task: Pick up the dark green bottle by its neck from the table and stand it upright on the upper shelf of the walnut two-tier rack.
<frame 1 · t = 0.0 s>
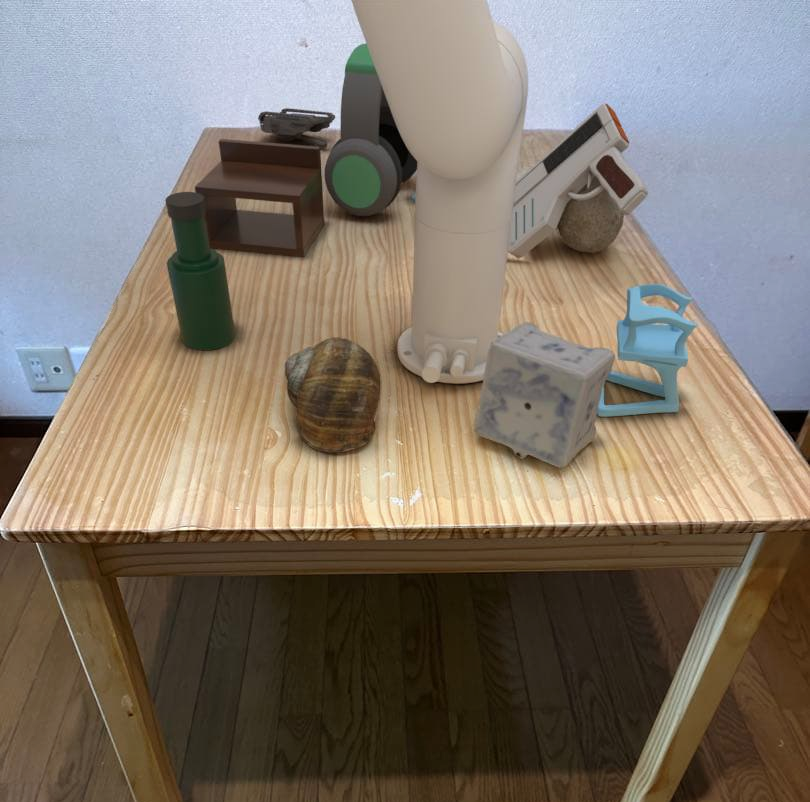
rack: (266, 235, 110), on the table
chair: (635, 401, 82), on the table
incense holder: (535, 440, 77), on the table
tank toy: (295, 110, 134), point 5 cm above the table
figurine: (456, 135, 130), point 4 cm above the table
seashell: (334, 422, 78), on the table
headphones: (376, 199, 120), on the table
stone: (562, 180, 114), point 5 cm above the table
bottle: (208, 336, 90), on the table
decorative stone: (582, 251, 108), on the table, touching futuristic handgun
decorative object: (445, 175, 127), on the table
futuristic handgun: (582, 249, 97), point 5 cm above the table, touching decorative stone
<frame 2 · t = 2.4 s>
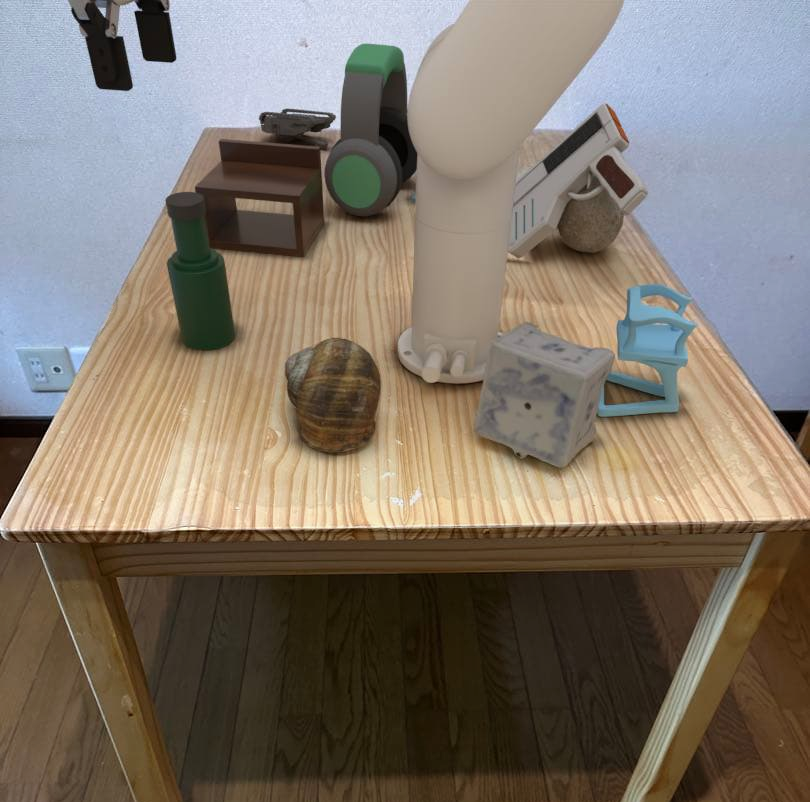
hand: (138, 74, 72), 26 cm above the table, tool pointing down, fingers open, 9 cm apart
nothing on the table moved.
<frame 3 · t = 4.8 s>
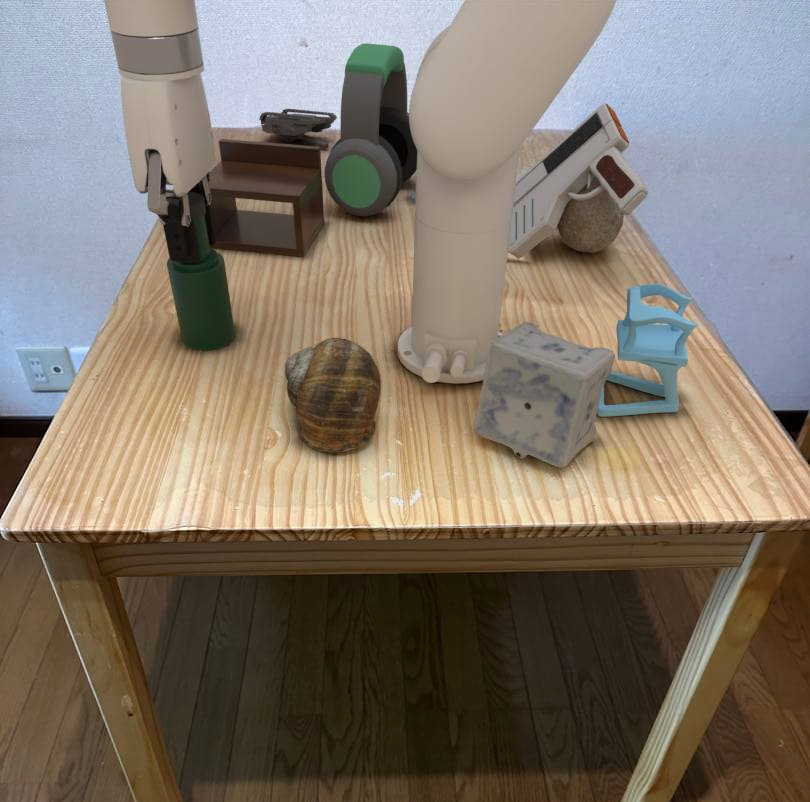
hand: (193, 250, 82), 10 cm above the table, tool pointing down, fingers closed on bottle, 3 cm apart
bottle: (208, 336, 90), on the table, touching gripper
everything else where it was.
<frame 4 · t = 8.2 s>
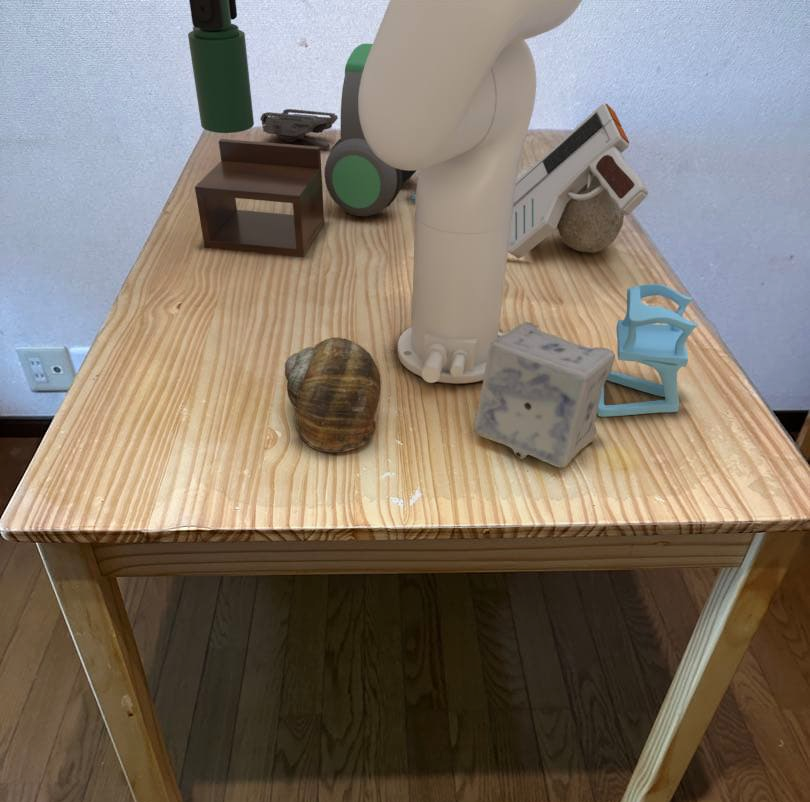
hand: (215, 20, 83), 27 cm above the table, tool pointing down, fingers closed on bottle, 3 cm apart
bottle: (227, 124, 90), point 17 cm above the table, touching gripper
everything else where it was.
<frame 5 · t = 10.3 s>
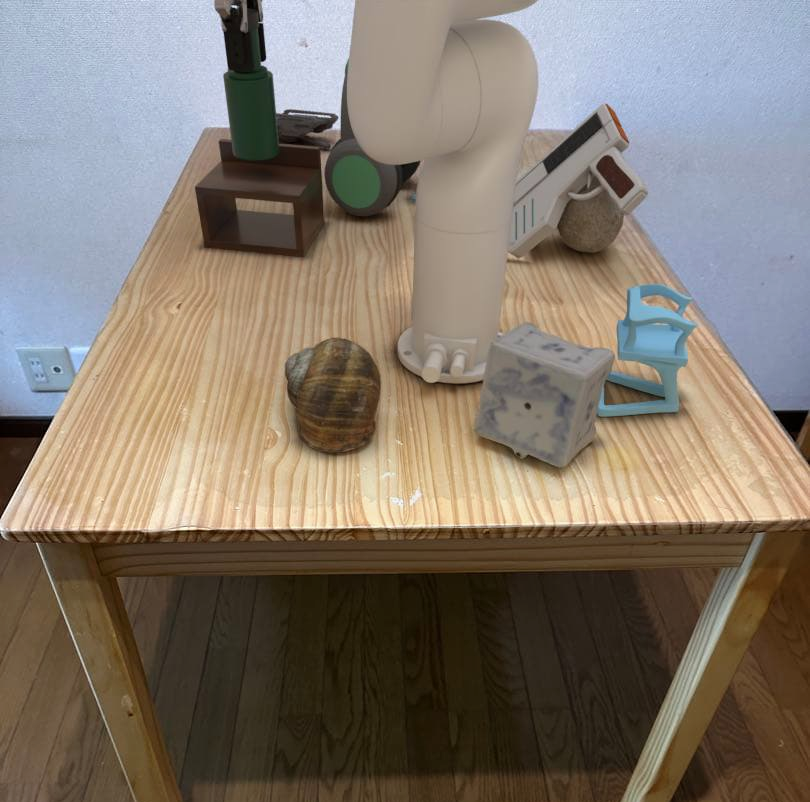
hand: (247, 63, 95), 21 cm above the table, tool pointing down, fingers closed on bottle, 3 cm apart
bottle: (256, 152, 102), point 11 cm above the table, touching gripper
everything else where it was.
when the fingers open (18 cm above the table, at t = 11.4 s): bottle stays where it is, resting on rack.
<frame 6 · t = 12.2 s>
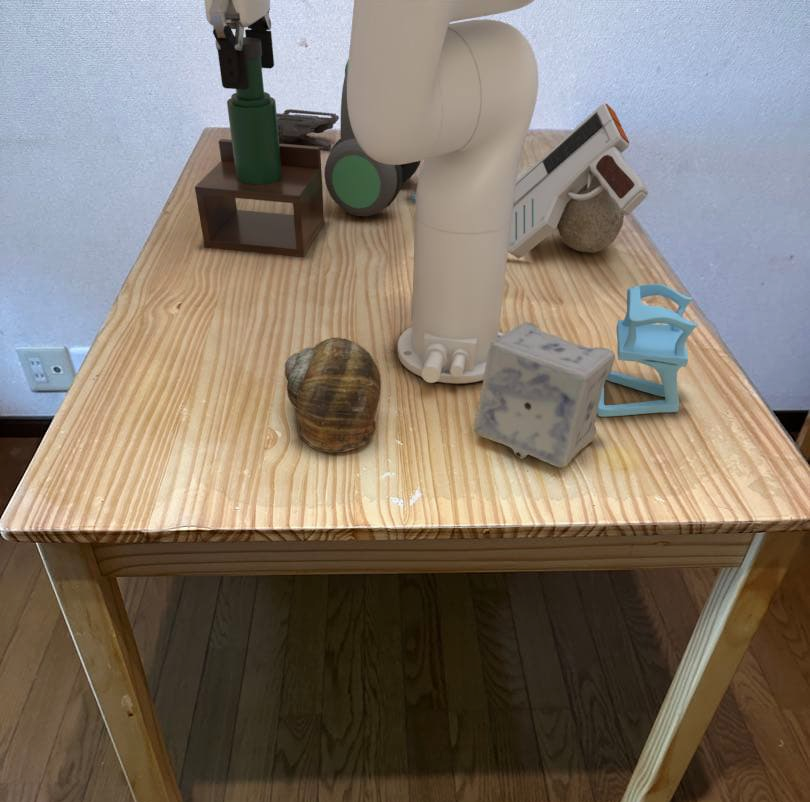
hand: (249, 77, 96), 20 cm above the table, tool pointing down, fingers open, 9 cm apart
bottle: (259, 176, 104), point 8 cm above the table, touching rack
everything else where it was.
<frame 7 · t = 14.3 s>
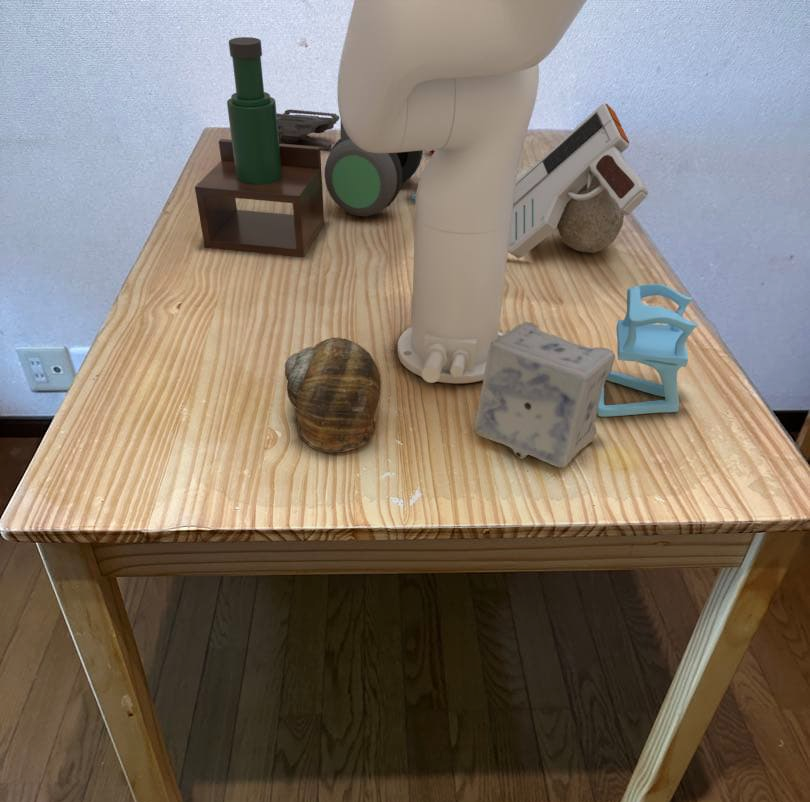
nothing on the table moved.
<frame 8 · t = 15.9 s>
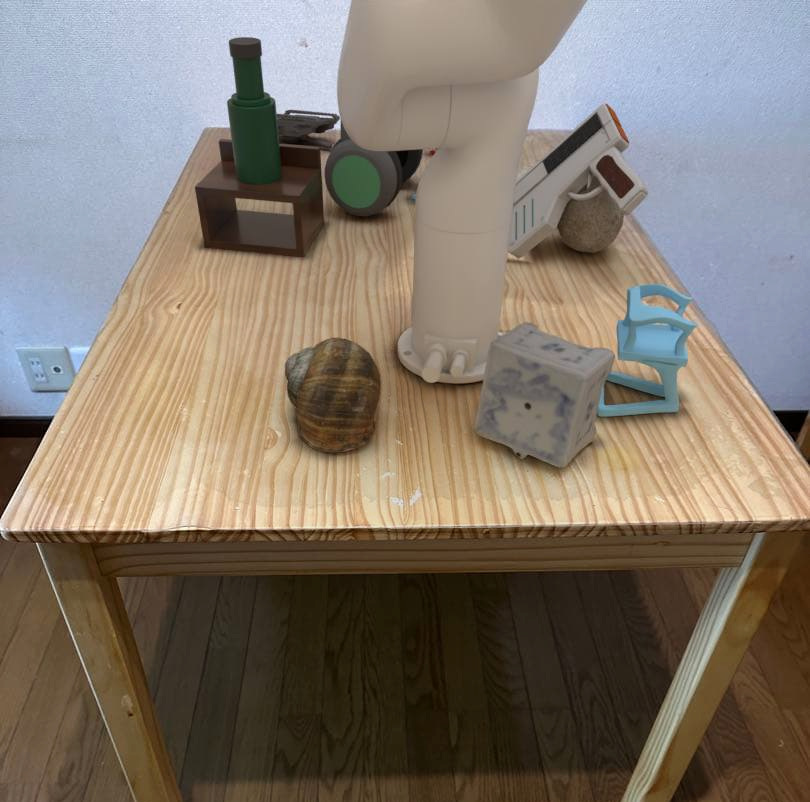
at the end: bottle inside the target area on the rack (0.1 cm from its centre), point 8.0 cm above the rack's base; bottle tilted 0°; the gripper is holding nothing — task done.
